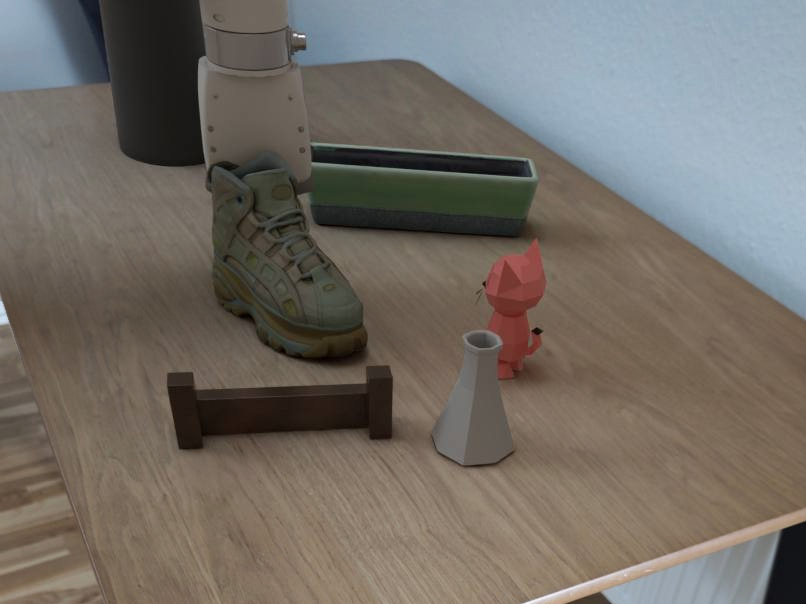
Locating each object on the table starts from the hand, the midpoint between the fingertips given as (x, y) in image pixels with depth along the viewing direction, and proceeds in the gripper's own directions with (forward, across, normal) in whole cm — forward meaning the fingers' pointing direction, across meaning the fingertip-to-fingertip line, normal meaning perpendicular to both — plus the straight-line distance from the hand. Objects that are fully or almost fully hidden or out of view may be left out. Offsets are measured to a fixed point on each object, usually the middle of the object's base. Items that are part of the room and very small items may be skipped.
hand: (266, 248), depth 93 cm
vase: (+4, +10, -39) cm, 40 cm away
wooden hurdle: (+3, 0, +28) cm, 28 cm away
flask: (+4, -16, +32) cm, 35 cm away
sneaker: (+4, -1, +10) cm, 10 cm away
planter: (+4, -19, -14) cm, 24 cm away
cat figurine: (+4, -22, +20) cm, 29 cm away
